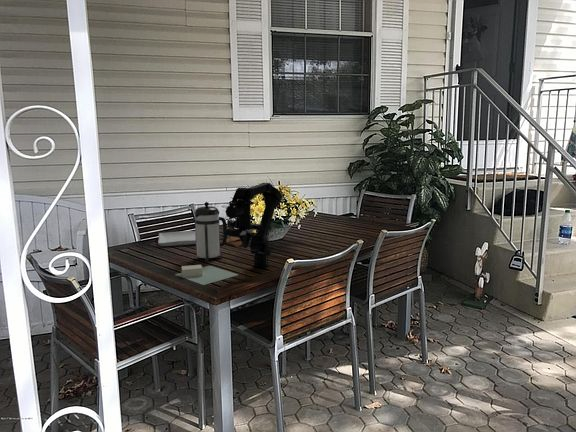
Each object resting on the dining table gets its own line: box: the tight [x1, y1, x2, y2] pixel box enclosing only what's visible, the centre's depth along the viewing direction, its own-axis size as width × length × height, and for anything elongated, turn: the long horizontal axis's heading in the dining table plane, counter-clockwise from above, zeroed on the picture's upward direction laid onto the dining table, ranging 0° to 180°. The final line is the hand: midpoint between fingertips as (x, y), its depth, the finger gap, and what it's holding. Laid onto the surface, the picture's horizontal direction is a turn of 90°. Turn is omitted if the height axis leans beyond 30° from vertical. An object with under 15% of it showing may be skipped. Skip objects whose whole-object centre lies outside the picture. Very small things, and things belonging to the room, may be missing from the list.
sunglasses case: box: [225, 236, 250, 249], centre depth 273 cm, size 18×7×7 cm
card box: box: [181, 264, 203, 277], centre depth 212 cm, size 4×6×9 cm
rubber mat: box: [174, 265, 239, 286], centre depth 212 cm, size 20×22×1 cm
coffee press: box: [193, 201, 228, 263], centre depth 240 cm, size 17×16×30 cm
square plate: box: [157, 230, 196, 247], centre depth 281 cm, size 27×27×4 cm
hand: (245, 248), depth 214 cm, fingers closed
